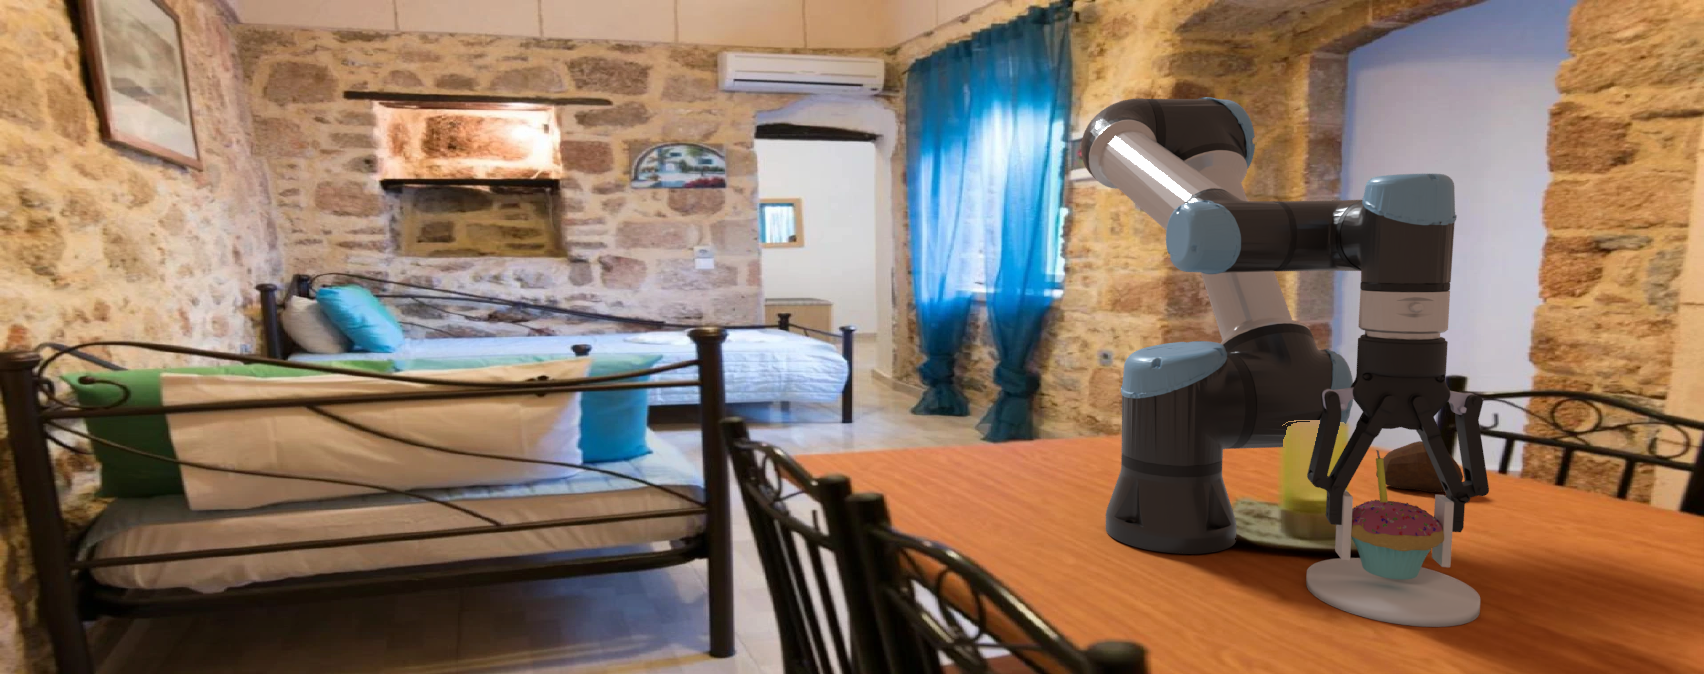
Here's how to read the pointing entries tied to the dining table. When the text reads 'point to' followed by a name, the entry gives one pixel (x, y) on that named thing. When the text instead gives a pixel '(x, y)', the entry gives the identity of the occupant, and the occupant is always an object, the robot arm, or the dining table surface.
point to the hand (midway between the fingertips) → (1391, 558)
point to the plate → (1394, 594)
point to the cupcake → (1393, 534)
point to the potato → (1413, 469)
